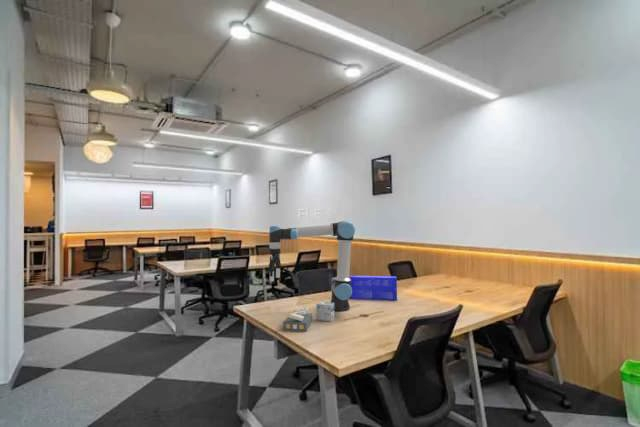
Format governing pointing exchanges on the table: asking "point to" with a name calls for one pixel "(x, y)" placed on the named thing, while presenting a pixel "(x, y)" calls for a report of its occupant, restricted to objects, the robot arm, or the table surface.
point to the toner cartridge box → (374, 287)
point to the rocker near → (296, 316)
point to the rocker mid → (300, 312)
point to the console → (297, 323)
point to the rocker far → (301, 309)
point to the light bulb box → (325, 311)
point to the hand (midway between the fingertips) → (274, 279)
